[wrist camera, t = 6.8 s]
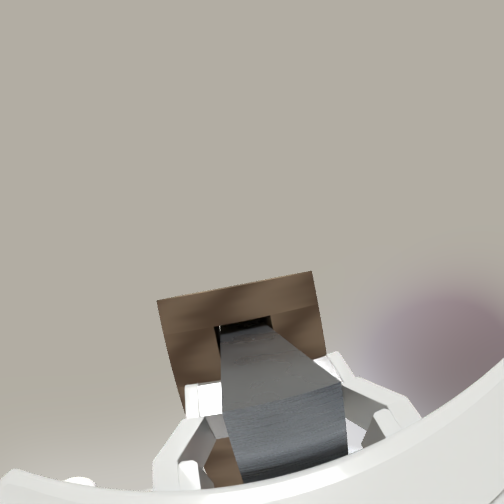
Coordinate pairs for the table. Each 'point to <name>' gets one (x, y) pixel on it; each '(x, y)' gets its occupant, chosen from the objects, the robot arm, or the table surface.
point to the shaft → (277, 404)
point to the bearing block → (231, 311)
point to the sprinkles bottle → (81, 481)
